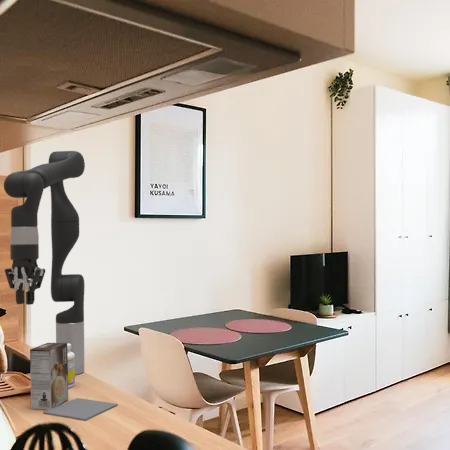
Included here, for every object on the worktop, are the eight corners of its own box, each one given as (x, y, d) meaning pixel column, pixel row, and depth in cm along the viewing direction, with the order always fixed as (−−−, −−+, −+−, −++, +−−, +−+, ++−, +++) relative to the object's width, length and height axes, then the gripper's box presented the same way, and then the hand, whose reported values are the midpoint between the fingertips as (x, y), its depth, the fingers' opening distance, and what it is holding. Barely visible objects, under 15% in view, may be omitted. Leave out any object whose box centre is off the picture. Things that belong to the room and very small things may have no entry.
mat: (43, 413, 137) (43, 411, 137) (77, 399, 148) (77, 397, 149) (85, 420, 131) (85, 419, 131) (117, 405, 142) (117, 403, 142)
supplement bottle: (48, 386, 162) (48, 344, 162) (68, 382, 167) (68, 341, 167) (58, 391, 157) (58, 347, 157) (78, 386, 162) (78, 344, 162)
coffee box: (48, 398, 150) (47, 342, 150) (68, 399, 148) (68, 342, 149) (29, 409, 141) (29, 348, 141) (51, 410, 139) (51, 349, 140)
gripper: (53, 242, 150) (53, 303, 149) (17, 243, 156) (17, 301, 155) (32, 243, 143) (33, 306, 143) (-4, 243, 149) (-4, 304, 149)
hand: (25, 303), depth 149 cm, fingers open, 3 cm apart
